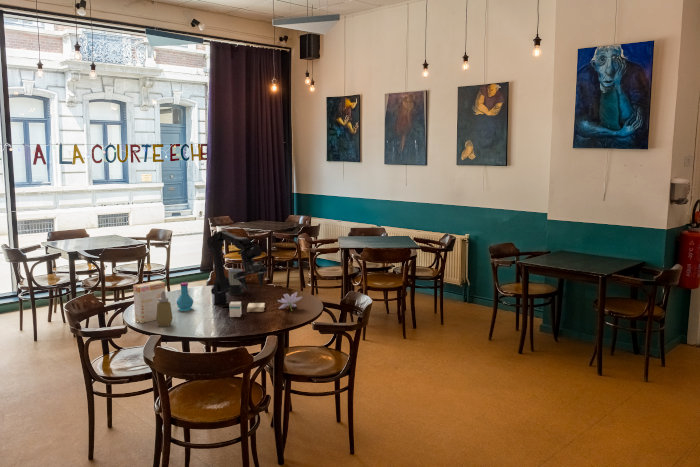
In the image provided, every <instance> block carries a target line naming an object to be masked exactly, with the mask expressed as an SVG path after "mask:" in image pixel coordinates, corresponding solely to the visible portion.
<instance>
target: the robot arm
mask: <svg viewBox="0 0 700 467" xmlns="http://www.w3.org/2000/svg"><path fill="white" fill-rule="evenodd" d="M225 241H227V242H229V243H231V244H233V245H234V247H235V248H236V249H238V253H237V254H238V255H240V259H241V261H242V263H241V265H242V266H243V269H244V270H243V271H244V272H238V273H235V274H234V275H233V277H234V279H236V280H238V281H239V282H240V283H241V284H242V285H243V286H244V287H243V289H245V290H246V291H248V290H249V289H248V288H249V287H248V284H247V281H246V279H247V278H246V276H249V275H254V274H256V276H257V279H258V282H259V285H260V287H263V284H264V282H263V281H264V276H265V274H266V273H267V272H268V266H266V265H265V266H263V262H262V261H261V260H260V261H257V262H255V260H254V259H255V258H258V257H261V256H262V253H263V251H262V248H261V247H260V246H258V244H257V243H255V244H254V243H253V242H252V241H251V240H250V238H249V237H244V236H238V235H235V234H232V233H231V232H229V231H227V230H225V229H224V230H218V231H217V232H216V233H214V234H212V235H210V236H209V237H208V238H207V240H206V242H207V247H208V250H210V252H211V253H212V254H211V255H212V259H213V260H212V261H213V265H214V272H215V279H214V281H213V284H214V285H213V286H212V288H211V290H210V292H211V295H214V297H213V298H214V303H213V305H214V306H219V305H223V306H224V305H226V304H227V302H228V295H227V293H229V288H230V283H229V277H226V275H225V274H226V273H225V268H224V262H223V257H222V249H223V245H224V244H223V242H225Z"/></svg>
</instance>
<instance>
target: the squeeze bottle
mask: <svg viewBox="0 0 700 467" xmlns="http://www.w3.org/2000/svg"><path fill="white" fill-rule="evenodd" d="M165 293H166V291H165V292H164V291H162V294H161V298H159V302H158V303H157V317H156V320H155V321H156V323H157V325H158V326H159V327H161V328H163V327H164V328H166V327H170V326H171V325H172V321H173V312H172V306H171V305H172V304H171V302H170V301H169V297H167V296H166V295H165Z"/></svg>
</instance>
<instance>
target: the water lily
mask: <svg viewBox="0 0 700 467" xmlns="http://www.w3.org/2000/svg"><path fill="white" fill-rule="evenodd" d="M297 295H298V291H296V292H294V293H292V294H291V296H290V294H288V292H287V293H284V294H283V297H284V298H283V297H281V299H277V302H279V303H281V306H279V307H278V309H279V310H281V309H284V308H287V306H289V308H290V311H291V312H293V309H292V308H296V307H297V304H296V303H297V302H298V301H300V300H301V299H303V296H298V297H297Z"/></svg>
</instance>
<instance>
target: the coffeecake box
mask: <svg viewBox="0 0 700 467" xmlns="http://www.w3.org/2000/svg"><path fill="white" fill-rule="evenodd" d="M132 289H133V306H134V320H135V322H137V321H138V322H137V323H139V322H140V323H139V324H143V323H144V322H145V323H148V322H153V321H157V320H156V317H157V303H158V302H159V298H161V294H162V291H164V292H165V295H166V282H164V281H161V280H155V281H149V282H144V283H138V284H133V285H132Z"/></svg>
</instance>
